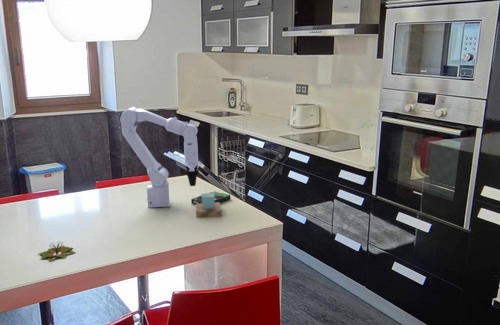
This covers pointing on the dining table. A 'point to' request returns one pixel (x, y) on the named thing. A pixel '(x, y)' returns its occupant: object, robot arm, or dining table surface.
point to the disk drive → (217, 196)
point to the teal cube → (208, 201)
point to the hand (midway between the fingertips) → (192, 183)
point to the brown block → (208, 211)
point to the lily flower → (56, 250)
